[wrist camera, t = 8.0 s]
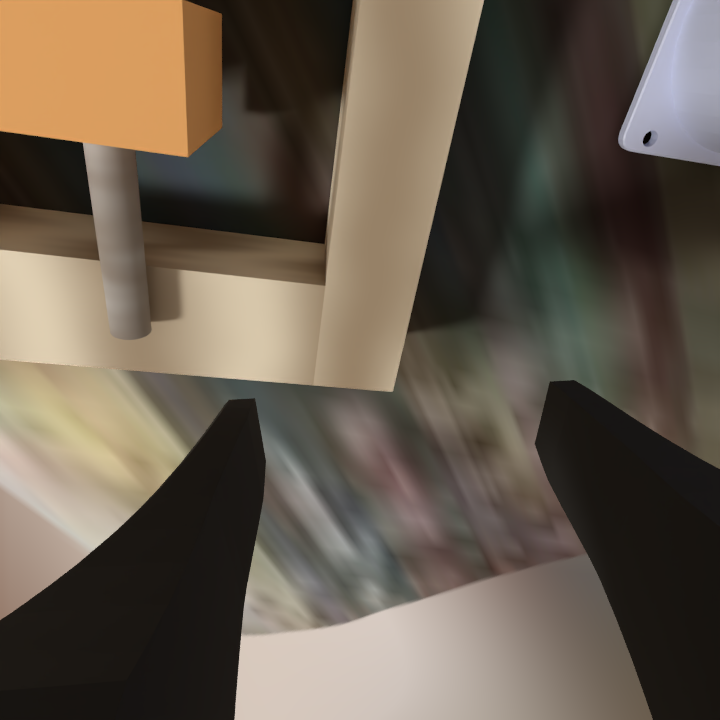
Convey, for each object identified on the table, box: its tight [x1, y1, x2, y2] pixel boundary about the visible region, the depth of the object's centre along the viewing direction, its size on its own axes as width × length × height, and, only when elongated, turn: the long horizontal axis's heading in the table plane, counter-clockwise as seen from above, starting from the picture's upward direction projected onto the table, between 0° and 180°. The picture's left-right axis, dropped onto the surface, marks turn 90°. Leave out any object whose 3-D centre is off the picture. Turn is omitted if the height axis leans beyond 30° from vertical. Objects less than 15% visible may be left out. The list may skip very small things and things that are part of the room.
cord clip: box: [0, 0, 222, 157], centre depth 12 cm, size 5×3×5 cm, turn 81°
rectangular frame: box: [0, 0, 484, 392], centre depth 13 cm, size 18×18×5 cm
